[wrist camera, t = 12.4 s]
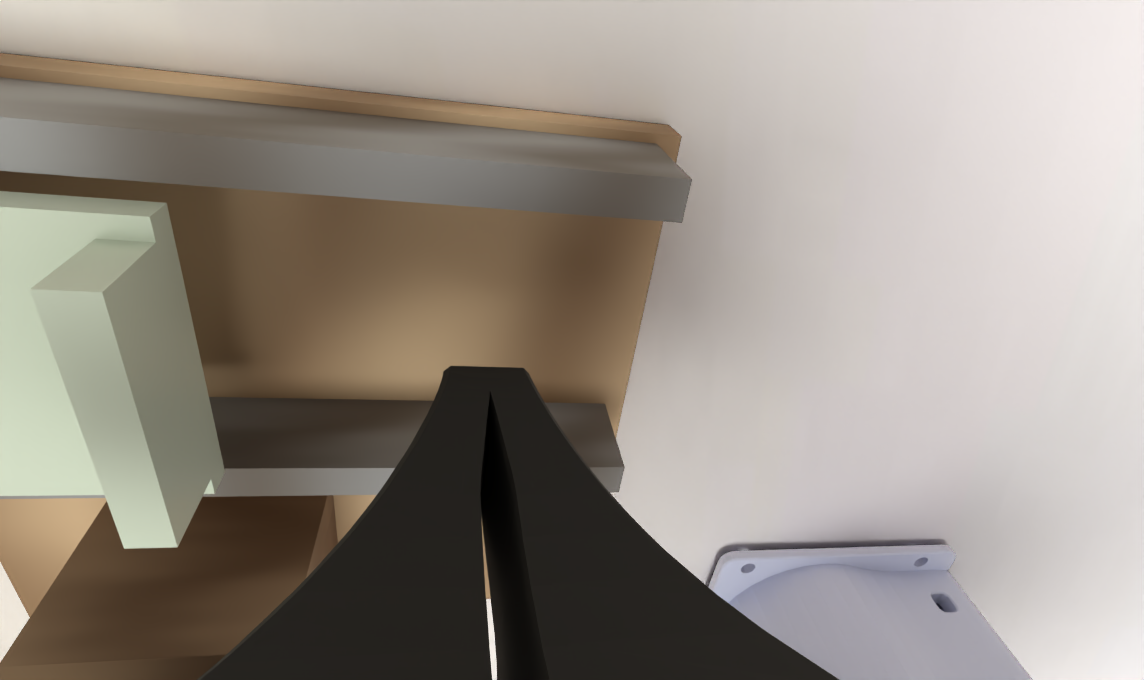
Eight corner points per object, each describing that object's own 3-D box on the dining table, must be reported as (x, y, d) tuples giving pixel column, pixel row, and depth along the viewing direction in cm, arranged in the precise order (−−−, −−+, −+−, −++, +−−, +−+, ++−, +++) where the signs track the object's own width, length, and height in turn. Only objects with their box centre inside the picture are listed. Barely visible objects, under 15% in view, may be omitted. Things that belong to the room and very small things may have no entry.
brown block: (331, 478, 16) (271, 713, 11) (343, 597, 19) (298, 831, 14) (120, 480, 15) (-49, 736, 10) (163, 604, 18) (44, 859, 13)
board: (668, 124, 14) (721, 170, 11) (577, 569, 21) (593, 664, 18) (-217, 29, 11) (-470, 58, 8) (50, 588, 18) (-27, 705, 15)
